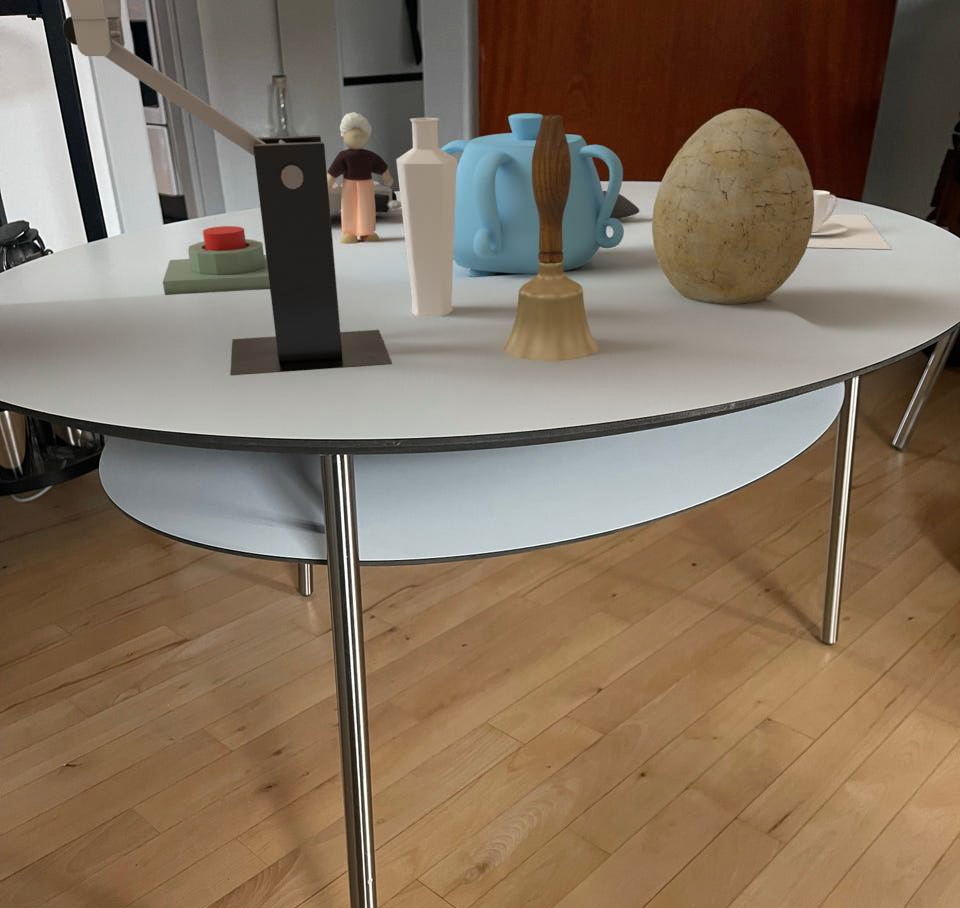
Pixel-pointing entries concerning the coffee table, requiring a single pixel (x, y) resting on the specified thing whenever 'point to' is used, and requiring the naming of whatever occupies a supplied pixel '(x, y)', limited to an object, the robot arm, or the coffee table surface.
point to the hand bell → (551, 264)
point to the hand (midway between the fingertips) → (103, 53)
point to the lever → (174, 93)
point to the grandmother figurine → (357, 180)
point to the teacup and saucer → (841, 228)
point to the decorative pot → (527, 202)
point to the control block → (218, 270)
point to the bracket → (300, 268)
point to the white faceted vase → (428, 218)
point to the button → (224, 238)
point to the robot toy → (383, 199)
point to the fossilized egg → (733, 210)
